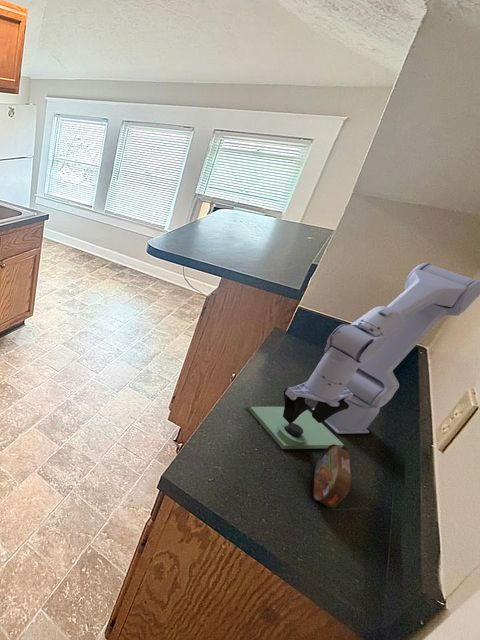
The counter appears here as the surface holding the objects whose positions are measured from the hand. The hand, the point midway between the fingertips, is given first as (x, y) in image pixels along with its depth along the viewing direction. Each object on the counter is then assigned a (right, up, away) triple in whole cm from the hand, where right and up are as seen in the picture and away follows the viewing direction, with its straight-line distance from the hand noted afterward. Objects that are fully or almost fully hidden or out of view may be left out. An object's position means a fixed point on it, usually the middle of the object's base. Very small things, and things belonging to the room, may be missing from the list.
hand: (301, 419), depth 89 cm
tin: (-1, -12, -7) cm, 14 cm away
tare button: (0, -4, +2) cm, 5 cm away
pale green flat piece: (+3, -5, +7) cm, 9 cm away
